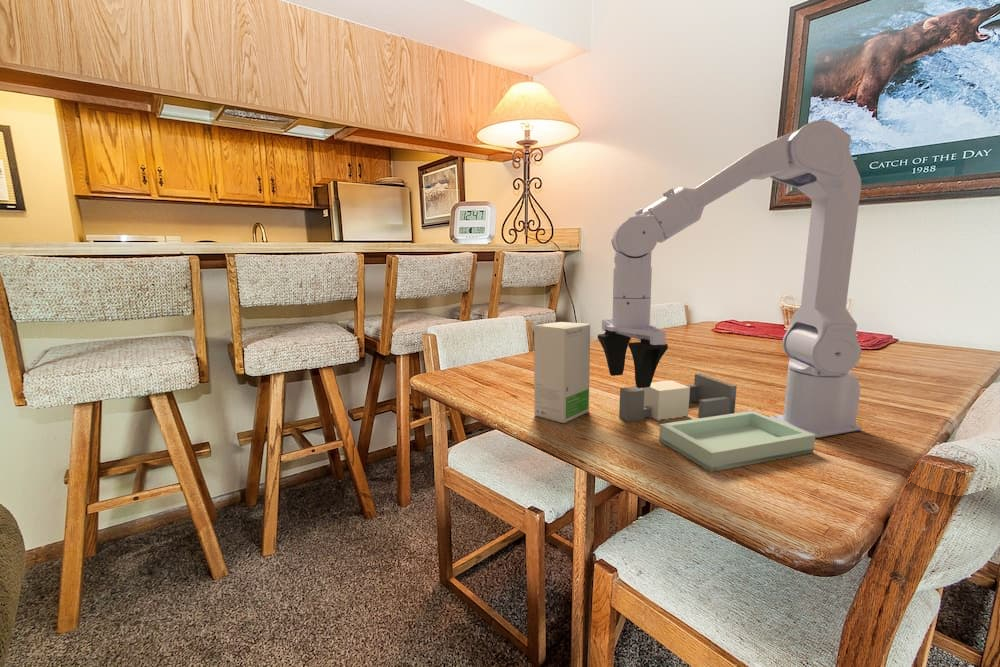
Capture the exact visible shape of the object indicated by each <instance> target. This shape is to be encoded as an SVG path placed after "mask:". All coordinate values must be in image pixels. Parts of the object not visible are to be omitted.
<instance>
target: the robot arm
mask: <svg viewBox="0 0 1000 667" xmlns="http://www.w3.org/2000/svg"><path fill="white" fill-rule="evenodd" d="M851 140H852V136H851V134H849V133H848V132H847V131H845V130H844V129H843V128H841V127H839V125H837V124H835V123H834V122H832V121H829V120H824V119H823V120H822V119H821V120H819V119H818V120H813V121H811V122H808V123H807V124H804V125H803V126H801V128H799V129H798V130H795V131H794V132H793V131H791V132H789V133H786V134H784V135H782V136H780V137H778V138H775V139H773V140H771V141H768V142H767V143H765V144H763V145H760V146H759V147H756V148H755V149H753V150H751V151H750V152H748V153H746V154H745V155H743V156H742V157H740V158H738V159H737V160H735V161H734V162H733V163H731V164H730V165H728V166H726V167H725V168H723V169H722V170H721V171H719V172H717V173H716V174H714V175H713V176H710V178H708V179H707V180H705V181H704V182H703V183H701V184H698V185H697V186H696V187H695V188H688V187H684V186H679V187H677V188H676V189H674V188H673V187H670V188H669V189H667V190H665V191H664V192H663V193H662V196H663V197H662V198H660V199H658V200H657V201H655V202H654V203H652V204H650V205H649V206H648V207H645V208H644V209H643V208H639V209H637V210H636V211H635V212H634V215H633V216H631V217H628V219H627V220H625V221H624V222H622V223H621V224H619V225H618V226H617V227H616V229H615V230H614V232H613V236H612V239H611V246H612V248H613V250H614V251H615V252H614V255H615V256H614V258H613V259H614V262H613V263H614V267H613V276H612V277H613V282H612V286H613V287H612V318H606V319H605V318H604V319H601V331H602V332H604V333H599V334H597V339H598V341H599V343H600V345H601V347H602V349H603V351H604V355H605V358H606V363H607V364H606V365H607V368H608V372H609V376H612V377H615V376H623V374H624V371H625V366H626V365H625V364H626V355H627V351H628V348H629V350H630V353H631V355H632V360H633V366H634V367H633V368H634V380H635V386H636V387H637V388H640V389H642V388H646V387H650V386H651V383H653V382H652V381H653V379H654V375H655V373H656V369H657V368H658V365H659V362H660V361H661V359H662V357H663V356H664V355H665V353H666V351H667V350H668V349H669V348H668V347H669V346H668V343H666V336H667V335H666V334H667V331H665V330H662V329H659V328H657V327H655V326H654V325H652V324H651V304H652V302H651V301H652V300H651V299H652V296H651V295H652V273H653V268H652V251H653V250H654V249H655V247H656V245H657V244H658V243H664V242H666V241H667V240H668V239H671V237H674V236H675V235H677V234H678V233H680V232H681V231H684V230H685V229H686V228H688V227H691V226H692V225H694V224H695V223H696V222H699V221H700V220H701V217H702V214H703V211H704V209H705V207H706V206H707V205H709V204H711V203H713V202H714V201H716V200H718V199H720V198H721V197H723V196H725V195H727V194H728V193H730V192H732V191H733V190H735V189H737V188H739V187H741V186H742V185H744V184H746V183H747V182H749V181H751V180H759V181H760V180H765V179H768V178H770V179H771V180H773V181H775V182H778V183H781V184H784V185H786V186H789V187H793V188H795V189H797V190H798V191H800V192H801V193H802V194H803V195H805V196H806V197H808V198H809V199H810V200H811V209H810V218H809V226H808V227H809V228H808V237H807V246H806V253H805V254H806V255H805V265H804V272H803V274H804V275H803V282H802V292H801V293H802V294H801V301H800V302H801V303H800V306H799V308H798V309H796V310H795V311H794V313H793V314H792V316H791V319H790V325H789V327H788V329H787V330H786V331H785V333H784V336H783V337H782V338H783V339H782V349H783V351H784V353H785V354H786V355H787V356H788V357H789V359H788V366H787V377H786V385H785V387H786V388H785V395H784V396H785V398H784V408H783V414H779V415H771V416H769V417H770V418H773V419H775V420H778V421H781V422H783V423H786V424H788V425H791V426H794V427H796V428H799V429H801V430H804V431H807V432H809V433H812V434H814V435H815V438H822V437H823V438H824V437H828V436H829V437H830V436H833V435H834V436H835V435H841V434H844V433H845V434H847V433H851V432H857V431H861V430H862V429H863V426H861V425H859V424H857V418H858V411H859V410H858V409H859V403H860V396H861V395H860V394H861V385H860V381H859V380H858V378H857V376H856V375H854V373H853V372H851V371H852V370H853V369H854V368H855V367H856V366H857V364H858V363H859V361H860V360H861V356H862V348H861V344H860V342H859V339H858V337H857V329H858V325H857V322H856V321H855V320H854V318H853V316H852V315H851V314H850V312H849V311H848V309H847V301H848V293H849V285H850V278H851V277H850V276H851V268H852V263H853V262H852V261H853V253H854V245H855V237H856V230H857V221H858V212H859V206H860V205H859V204H860V197H861V189H862V178H861V175H860V173H859V171H858V168H857V165H856V164H855V161H854V159H853V156H852V154H851V152H850V148H851ZM631 338H632V339H636V340H638V341H639V340H640V341H639V342H636V341H635V342H630V341H631Z"/></svg>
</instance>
